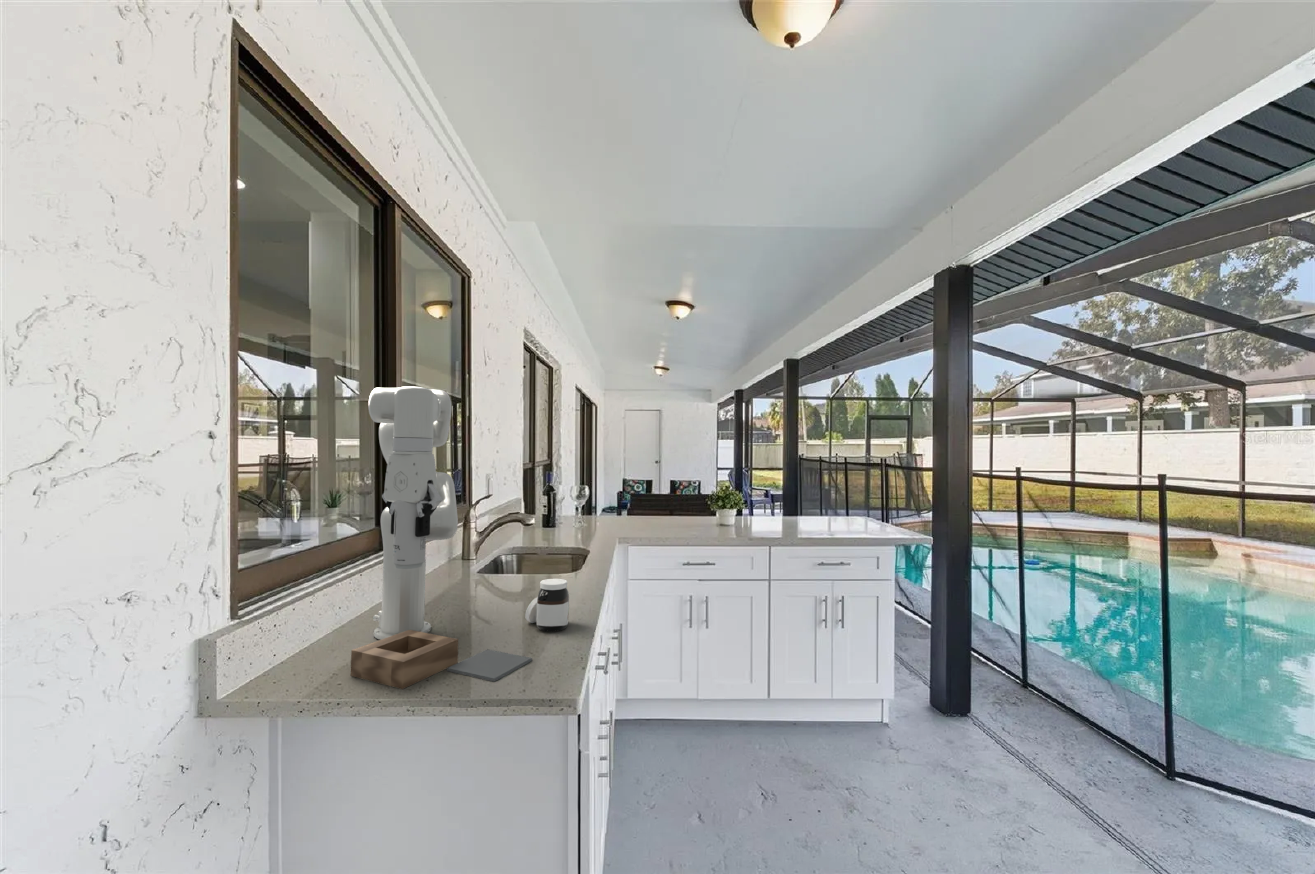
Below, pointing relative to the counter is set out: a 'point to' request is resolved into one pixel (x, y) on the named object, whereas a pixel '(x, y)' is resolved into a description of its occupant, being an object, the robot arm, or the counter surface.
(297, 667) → the counter surface
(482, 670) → the rubber mat
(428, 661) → the walnut frame
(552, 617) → the spread jar
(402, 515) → the energy drink can
